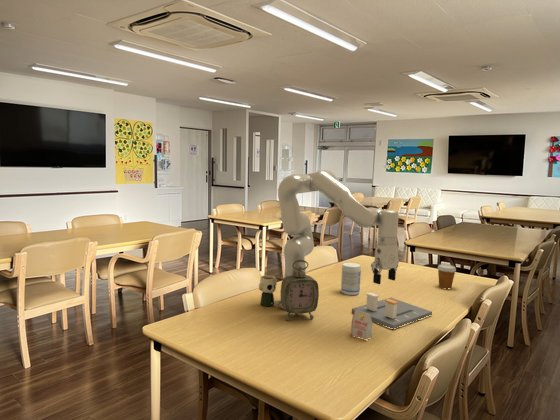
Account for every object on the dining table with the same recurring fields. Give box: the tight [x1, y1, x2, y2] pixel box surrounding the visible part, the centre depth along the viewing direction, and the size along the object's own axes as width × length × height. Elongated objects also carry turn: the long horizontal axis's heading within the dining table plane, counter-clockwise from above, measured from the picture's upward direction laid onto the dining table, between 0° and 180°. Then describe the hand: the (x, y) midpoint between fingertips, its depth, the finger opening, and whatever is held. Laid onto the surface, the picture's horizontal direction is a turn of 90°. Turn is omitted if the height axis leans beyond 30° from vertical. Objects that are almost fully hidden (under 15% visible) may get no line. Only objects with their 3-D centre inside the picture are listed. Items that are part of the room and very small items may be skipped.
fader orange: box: [385, 298, 398, 319], centre depth 171 cm, size 3×4×7 cm, turn 38°
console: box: [351, 297, 433, 329], centre depth 180 cm, size 28×22×2 cm
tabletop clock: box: [280, 260, 320, 322], centre depth 171 cm, size 14×9×25 cm, turn 105°
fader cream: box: [365, 292, 379, 311], centre depth 178 cm, size 3×4×7 cm, turn 38°
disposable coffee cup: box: [437, 263, 457, 290], centre depth 223 cm, size 10×10×12 cm
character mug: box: [258, 274, 278, 307], centre depth 185 cm, size 11×7×13 cm, turn 137°
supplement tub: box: [340, 262, 362, 296], centre depth 208 cm, size 10×10×15 cm
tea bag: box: [350, 310, 373, 339], centre depth 155 cm, size 4×7×10 cm, turn 52°
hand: (384, 281), depth 166 cm, fingers open, 9 cm apart
